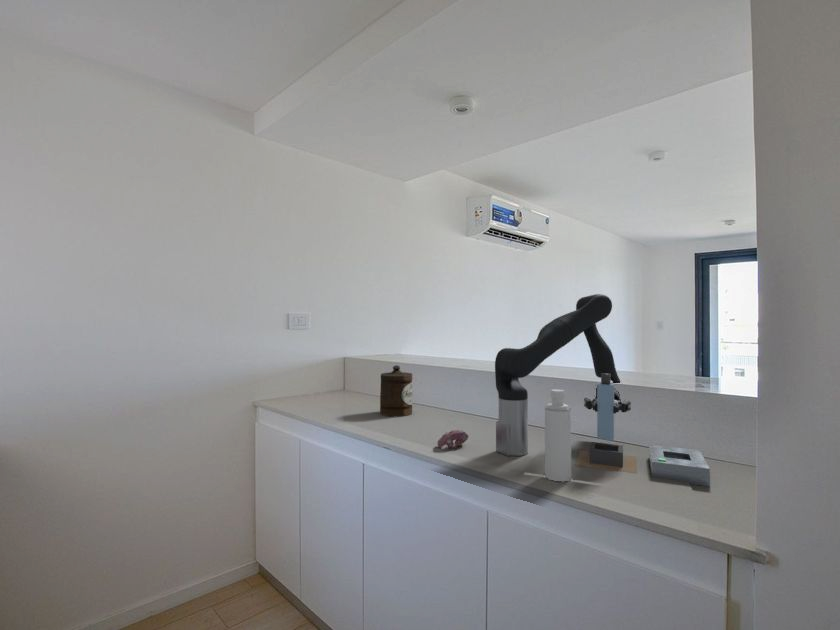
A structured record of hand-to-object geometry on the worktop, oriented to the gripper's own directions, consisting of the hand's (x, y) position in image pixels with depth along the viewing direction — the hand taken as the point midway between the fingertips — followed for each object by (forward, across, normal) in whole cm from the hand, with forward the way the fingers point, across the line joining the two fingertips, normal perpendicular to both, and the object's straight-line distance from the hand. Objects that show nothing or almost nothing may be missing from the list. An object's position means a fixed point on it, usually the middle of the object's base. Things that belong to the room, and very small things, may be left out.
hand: (605, 409), depth 127 cm
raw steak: (+1, -47, +17) cm, 50 cm away
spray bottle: (+16, -11, +17) cm, 26 cm away
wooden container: (-38, -90, +17) cm, 99 cm away
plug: (-3, 0, +9) cm, 9 cm away
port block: (-3, +18, +16) cm, 25 cm away
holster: (-3, 0, +16) cm, 17 cm away
